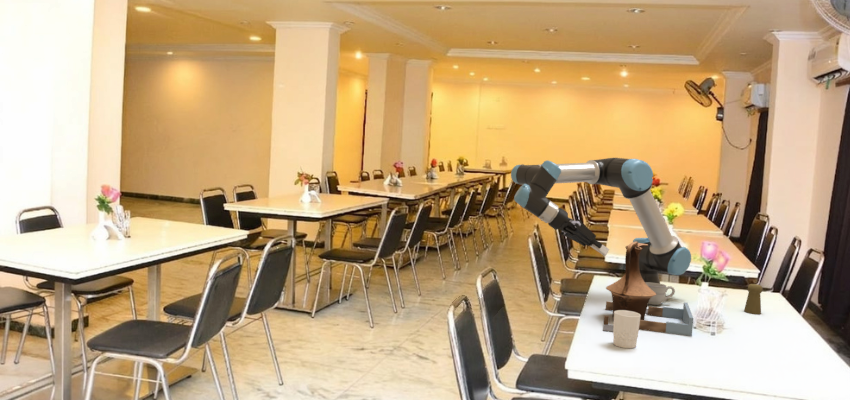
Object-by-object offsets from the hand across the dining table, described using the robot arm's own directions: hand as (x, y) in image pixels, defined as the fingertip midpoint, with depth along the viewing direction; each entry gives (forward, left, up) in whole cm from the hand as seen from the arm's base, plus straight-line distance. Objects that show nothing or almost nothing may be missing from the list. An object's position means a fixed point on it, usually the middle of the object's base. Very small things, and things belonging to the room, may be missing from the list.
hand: (606, 252), depth 255 cm
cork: (+21, +61, -23) cm, 69 cm away
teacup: (-3, +33, -23) cm, 40 cm away
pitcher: (+10, +2, -23) cm, 25 cm away
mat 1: (+18, -12, -22) cm, 31 cm away
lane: (+12, +4, -22) cm, 25 cm away
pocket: (+22, +13, -22) cm, 34 cm away
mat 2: (+2, +17, -22) cm, 28 cm away
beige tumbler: (+31, -25, -23) cm, 46 cm away
